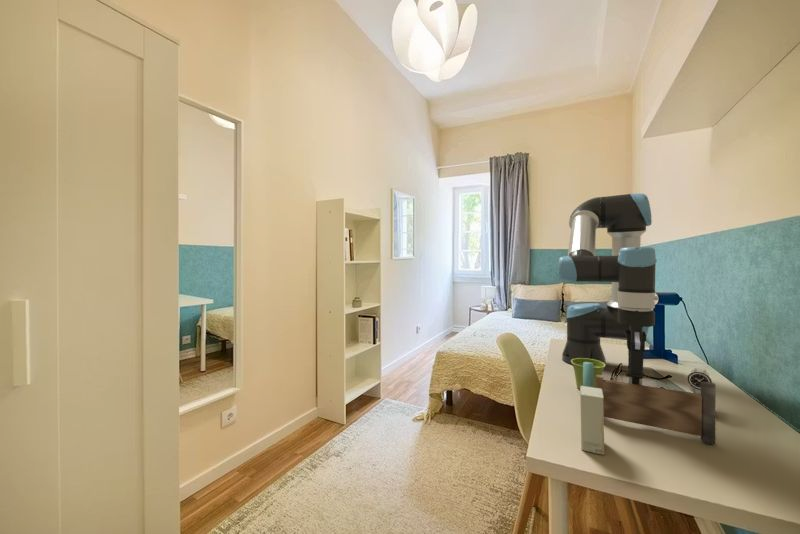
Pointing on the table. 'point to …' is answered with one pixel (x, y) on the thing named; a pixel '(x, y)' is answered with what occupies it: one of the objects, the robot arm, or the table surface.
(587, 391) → the skincare box
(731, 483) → the table surface
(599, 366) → the plant pot
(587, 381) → the post
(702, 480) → the table surface
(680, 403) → the gate
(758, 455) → the table surface
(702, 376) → the watch
